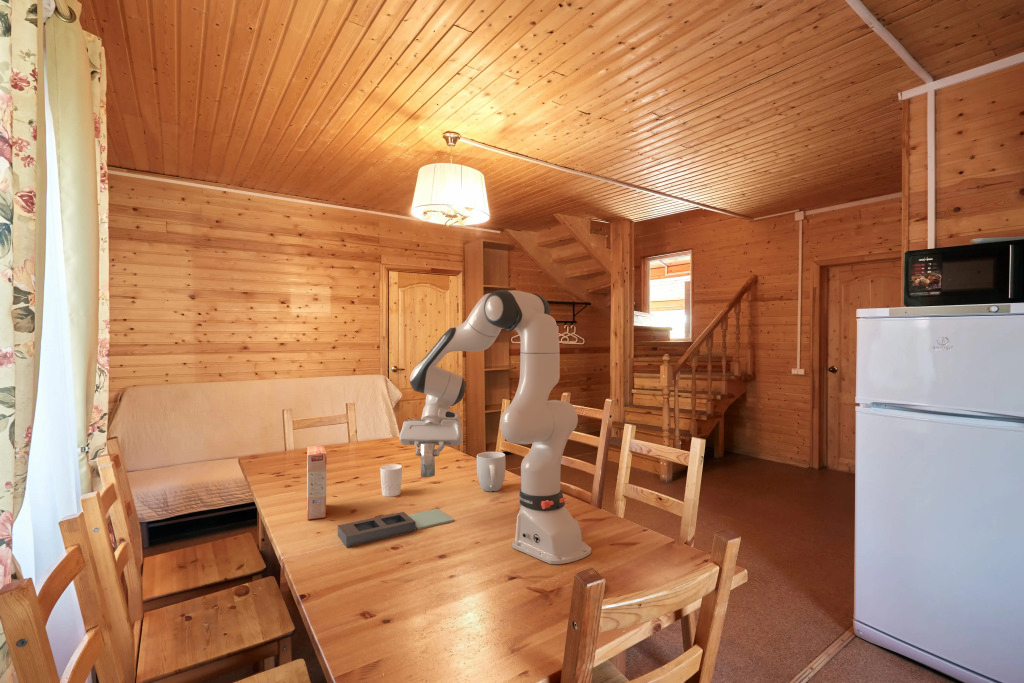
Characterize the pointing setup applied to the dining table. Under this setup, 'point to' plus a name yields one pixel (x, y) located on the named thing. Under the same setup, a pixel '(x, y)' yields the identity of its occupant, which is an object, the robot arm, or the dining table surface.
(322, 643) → the dining table surface
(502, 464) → the mug
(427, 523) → the mat
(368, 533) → the grey socket block
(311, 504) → the cracker box
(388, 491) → the white cup
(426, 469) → the steel peg
